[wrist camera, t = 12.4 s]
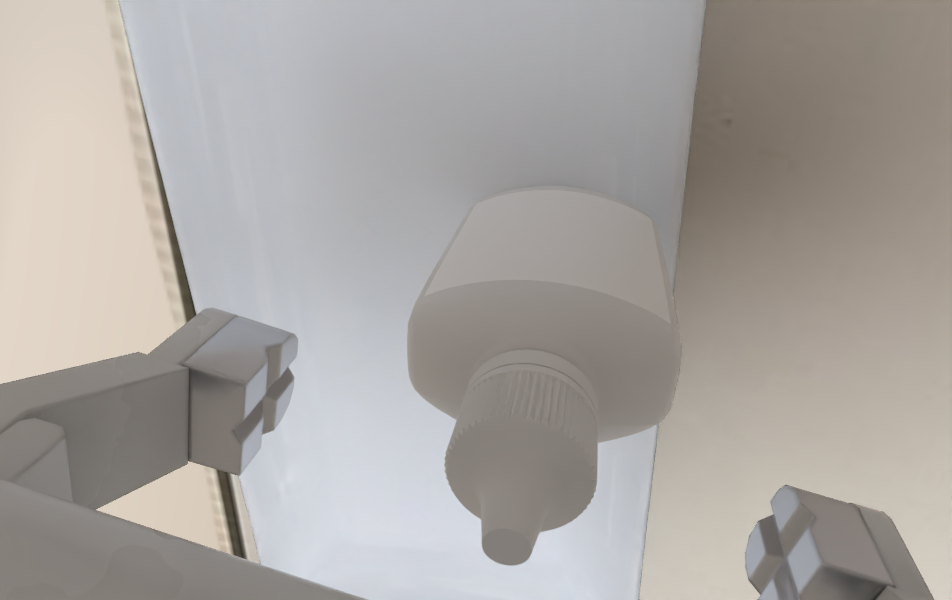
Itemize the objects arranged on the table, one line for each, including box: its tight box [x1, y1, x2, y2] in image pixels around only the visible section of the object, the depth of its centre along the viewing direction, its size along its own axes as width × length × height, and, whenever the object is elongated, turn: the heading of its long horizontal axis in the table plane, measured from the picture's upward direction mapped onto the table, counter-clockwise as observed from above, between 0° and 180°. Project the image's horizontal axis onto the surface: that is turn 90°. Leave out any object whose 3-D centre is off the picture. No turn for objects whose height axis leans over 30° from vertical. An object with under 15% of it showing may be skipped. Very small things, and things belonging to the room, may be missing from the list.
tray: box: [118, 0, 707, 600], centre depth 23 cm, size 17×32×4 cm, turn 2°
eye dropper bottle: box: [407, 186, 682, 566], centre depth 14 cm, size 4×6×12 cm
